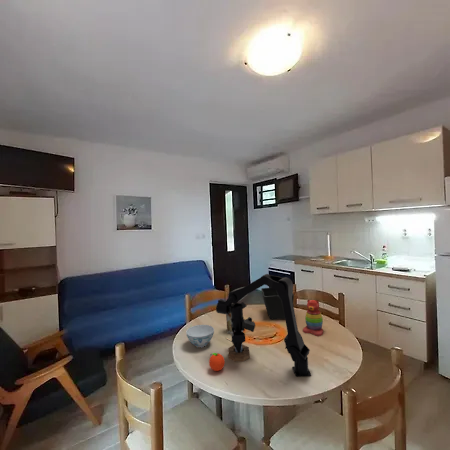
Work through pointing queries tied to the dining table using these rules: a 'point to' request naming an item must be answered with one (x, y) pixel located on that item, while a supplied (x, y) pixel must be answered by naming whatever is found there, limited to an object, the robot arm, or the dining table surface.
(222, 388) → the dining table surface
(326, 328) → the dining table surface
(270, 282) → the robot arm
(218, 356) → the clementine
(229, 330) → the coffee box
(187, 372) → the dining table surface
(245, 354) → the bead
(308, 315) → the stacking bear
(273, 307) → the black bin
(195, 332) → the chinaware
